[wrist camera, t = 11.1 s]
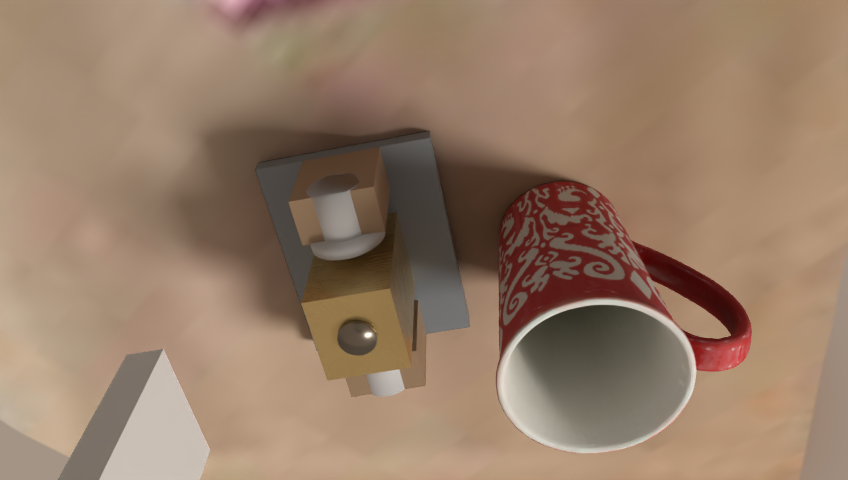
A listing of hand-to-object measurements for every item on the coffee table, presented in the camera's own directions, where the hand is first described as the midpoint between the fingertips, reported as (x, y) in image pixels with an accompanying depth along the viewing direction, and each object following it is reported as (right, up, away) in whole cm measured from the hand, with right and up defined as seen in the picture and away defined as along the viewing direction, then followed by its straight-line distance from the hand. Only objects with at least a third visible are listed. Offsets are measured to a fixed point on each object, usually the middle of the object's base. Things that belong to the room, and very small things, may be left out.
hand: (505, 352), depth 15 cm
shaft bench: (-5, +2, +32) cm, 32 cm away
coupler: (-5, +1, +31) cm, 32 cm away
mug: (+8, +2, +32) cm, 33 cm away
